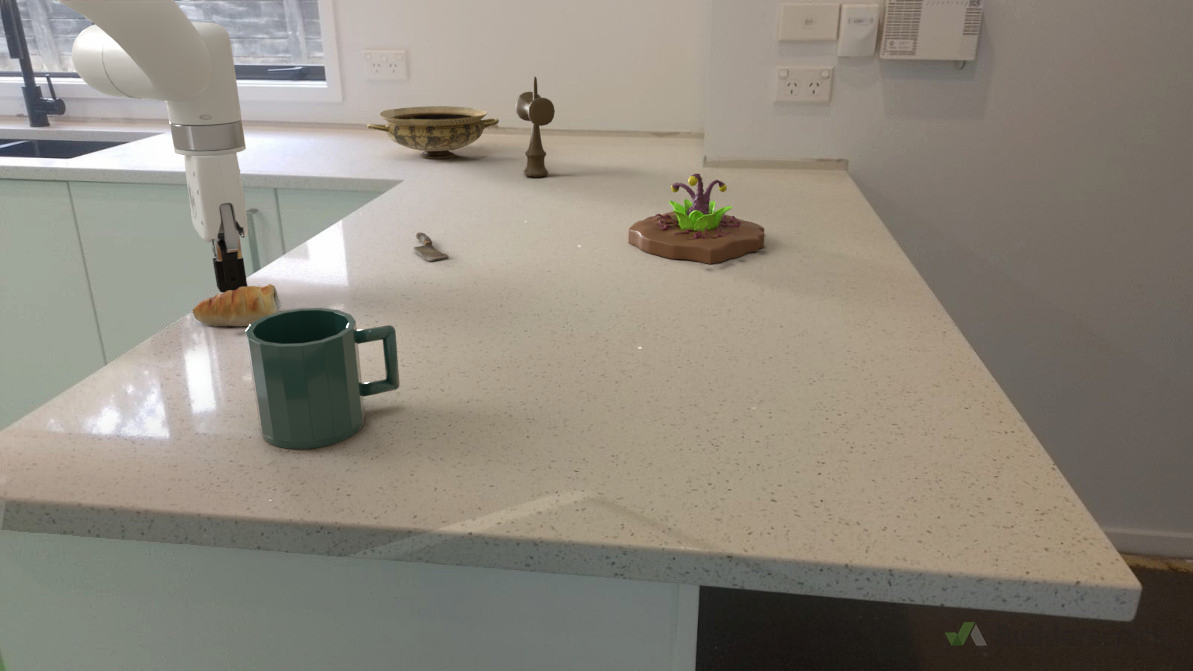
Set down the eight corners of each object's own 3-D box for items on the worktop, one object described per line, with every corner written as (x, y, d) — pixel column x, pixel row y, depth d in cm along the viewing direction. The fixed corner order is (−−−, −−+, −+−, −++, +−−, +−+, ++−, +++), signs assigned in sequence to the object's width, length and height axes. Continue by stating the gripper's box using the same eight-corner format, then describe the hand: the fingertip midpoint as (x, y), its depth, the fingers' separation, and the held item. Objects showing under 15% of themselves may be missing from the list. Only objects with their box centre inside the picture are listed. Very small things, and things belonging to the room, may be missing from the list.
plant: (606, 245, 129) (608, 172, 125) (672, 220, 144) (675, 154, 139) (722, 270, 118) (728, 192, 114) (780, 241, 133) (788, 170, 129)
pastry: (192, 333, 94) (186, 301, 92) (198, 313, 100) (192, 282, 98) (281, 324, 97) (277, 293, 95) (281, 305, 103) (277, 275, 101)
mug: (271, 458, 69) (255, 353, 66) (253, 414, 77) (238, 317, 73) (416, 425, 75) (409, 327, 72) (387, 387, 82) (379, 296, 79)
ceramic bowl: (488, 144, 209) (486, 103, 205) (512, 162, 189) (511, 116, 185) (364, 149, 200) (360, 106, 196) (375, 169, 179) (371, 121, 175)
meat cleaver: (413, 263, 119) (449, 263, 120) (413, 256, 119) (449, 255, 120) (411, 238, 129) (444, 238, 131) (411, 231, 129) (444, 230, 130)
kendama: (542, 170, 181) (542, 73, 173) (556, 179, 172) (556, 78, 165) (515, 172, 179) (514, 74, 171) (528, 181, 170) (527, 79, 163)
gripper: (163, 130, 100) (189, 276, 107) (182, 150, 88) (210, 313, 95) (230, 126, 103) (251, 268, 110) (257, 145, 92) (278, 302, 99)
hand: (232, 288), depth 103 cm, fingers closed
